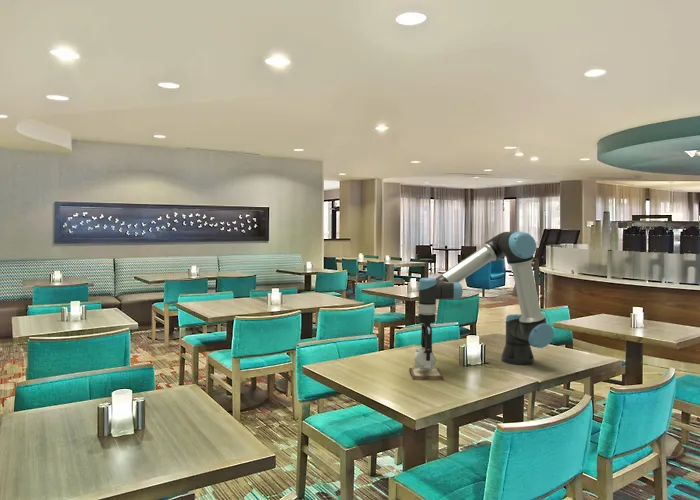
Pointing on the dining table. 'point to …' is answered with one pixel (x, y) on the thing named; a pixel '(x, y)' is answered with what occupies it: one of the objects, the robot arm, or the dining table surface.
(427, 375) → the board
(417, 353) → the shaker
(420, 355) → the die
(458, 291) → the robot arm
